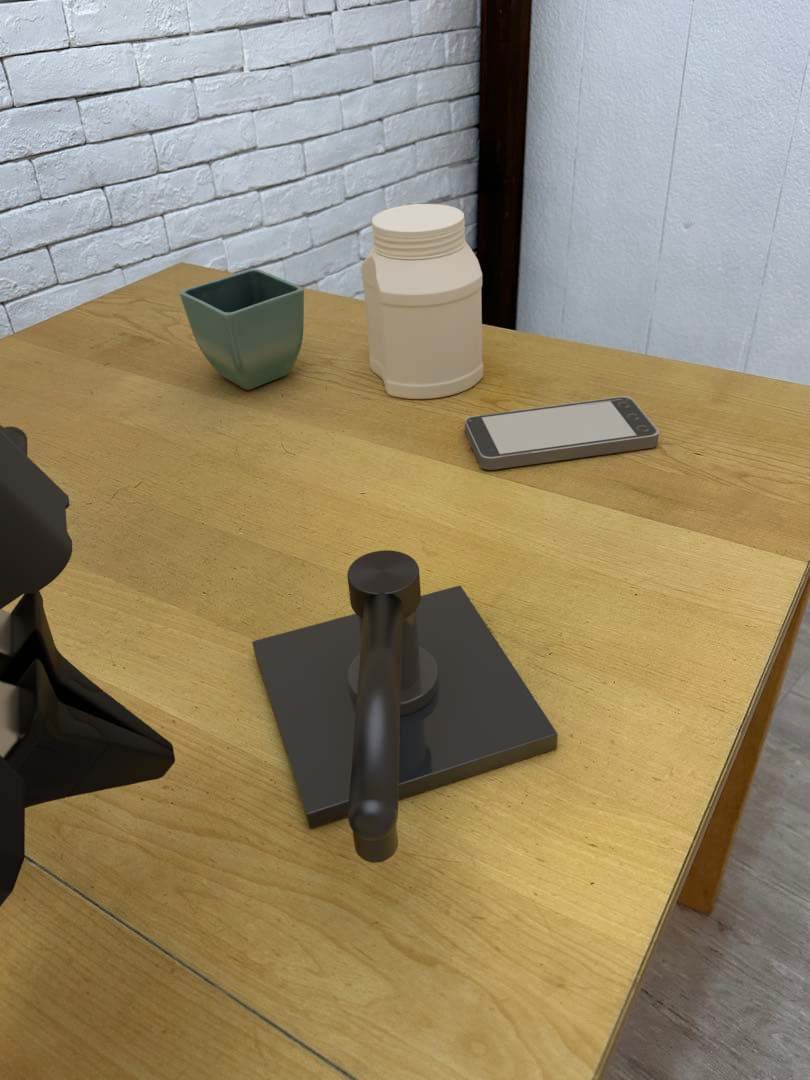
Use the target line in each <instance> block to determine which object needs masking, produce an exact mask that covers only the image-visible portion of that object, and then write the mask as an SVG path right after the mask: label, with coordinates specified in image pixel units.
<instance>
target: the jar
mask: <svg viewBox="0 0 810 1080" xmlns="http://www.w3.org/2000/svg"><path fill="white" fill-rule="evenodd" d="M465 225H466V221H465V214H464V212H463V211H462V210H461V209H459V208H457V207H454V206H451V205H446V204H440V203H439V204H438V203H415V204H414V203H413V204H406V205H400V206H399V205H398V206H395V207H394V206H393V207H392V208H391V207H390V208H387V209H385V210H382V211H380V212H378V213H376V214H375V215H374V216H372V218H371V228H372V229H371V230H372V231H371V233H372V241H373V242H372V248H371V249H370V251H369V252H368V254H367V256H366V257H365V258H364V260H363V262H362V263H361V264H362V265H361V268H360V271H361V279H362V284H363V294H364V295H363V296H364V307H365V316H366V317H365V318H366V326H367V327H366V328H367V329H366V330H367V340H368V341H367V342H368V351H369V354H368V359H369V360H368V361H369V368H370V370H371V371H372V373H374V374H375V375H377V376H378V377H379V378H380V379H381V380H382V381H383V383H384V390H385V392H386V393H387V395H388V396H391V397H395V398H400V399H408V400H431V399H441V398H445V397H451V396H454V395H457V394H460V393H462V392H466V391H467V390H469V389H471V388H473V387H474V386H476V385H477V384H478V383H479V382H480V381H481V380H482V378H483V377H484V362H483V315H482V314H483V312H482V310H483V309H482V307H483V306H482V302H483V301H482V287H483V271H482V269H481V265H480V262H479V259H478V258H477V256H476V254H475V253H474V251H473V250H472V248H471V247H470V245H469V244H468V243H467V240H466V233H465V232H466V227H465Z"/></svg>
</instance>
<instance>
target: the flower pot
mask: <svg viewBox="0 0 810 1080" xmlns="http://www.w3.org/2000/svg"><path fill="white" fill-rule="evenodd" d="M178 293H179V297H180V299H181V302H182V305H183V307H184V308H183V309H184V311H185V314H186V318H187V320H188V323H189V326H190V329H191V332H192V335H193V338H194V339H195V342H196V344H197V346H198V348H199V350H200V351H201V352H202V354H203V356H204V358H206V360H207V361H208V363H209V365H211V366H212V367H213V369H214V370H215V371H216V372H217V373H218V374H219V375H220V376H221V377H222V378H224V379H225V380H228V381H229V382H230V383H233V384H235V385H236V386H238V387H239V388H242V389H243V390H246V391H249V390H253V389H255V388H258V387H260V386H262V385H265V384H268V383H270V382H272V381H273V382H274V381H275V380H278V379H280V378H283V377H286V376H288V375H289V373H290V372H291V370H292V368H293V366H294V365H295V363H296V361H297V359H298V357H299V354H300V352H301V348H302V344H303V338H304V327H305V326H304V323H305V322H304V321H305V319H304V318H305V309H304V308H305V288H304V287H302V286H301V285H298V284H296V283H293V282H290V281H289V280H286V279H283V278H281V277H278V276H276V275H274V274H272V273H268V272H267V271H264V270H262V269H258V268H250V269H246V270H244V271H240V272H237V273H234V274H231V275H228V276H225V277H221V278H218V279H216V280H212V281H209V282H206V283H202V284H198V285H195V286H192V287H188V288H185V289H183V290H181V291H179V292H178Z"/></svg>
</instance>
